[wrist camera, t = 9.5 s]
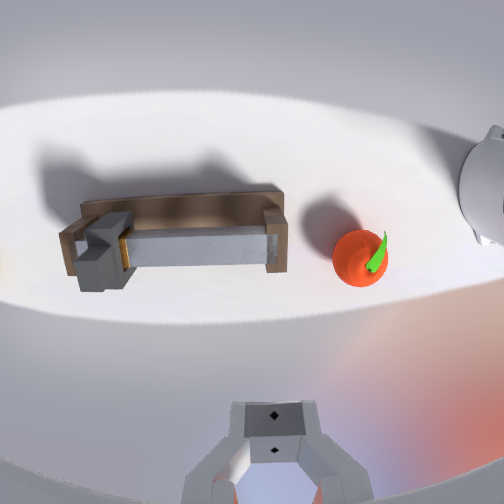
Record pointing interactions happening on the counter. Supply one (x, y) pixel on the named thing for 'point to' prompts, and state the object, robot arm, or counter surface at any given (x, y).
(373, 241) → the clementine
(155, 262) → the grey metal bar
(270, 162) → the counter surface
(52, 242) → the counter surface
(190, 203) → the base
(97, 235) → the grey clamp
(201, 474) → the robot arm
